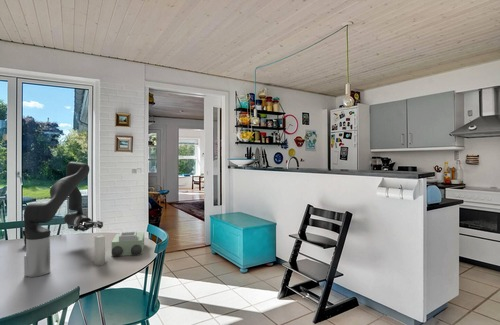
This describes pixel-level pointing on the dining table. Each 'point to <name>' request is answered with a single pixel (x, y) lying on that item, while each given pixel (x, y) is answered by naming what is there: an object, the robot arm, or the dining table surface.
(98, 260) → the spout tube
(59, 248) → the dining table surface
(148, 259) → the dining table surface
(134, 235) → the pale green toy car
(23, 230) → the coffee mug
